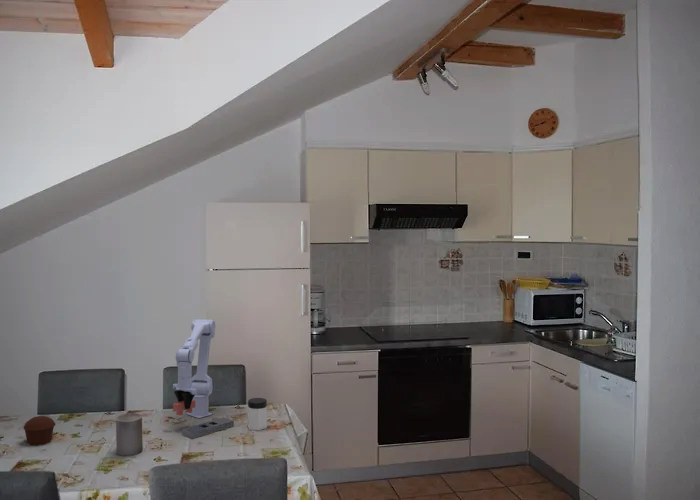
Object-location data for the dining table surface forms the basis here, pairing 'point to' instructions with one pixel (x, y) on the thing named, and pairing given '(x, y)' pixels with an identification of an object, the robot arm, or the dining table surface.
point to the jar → (257, 414)
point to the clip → (182, 407)
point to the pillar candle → (129, 434)
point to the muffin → (39, 430)
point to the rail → (207, 428)
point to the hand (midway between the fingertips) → (184, 407)
